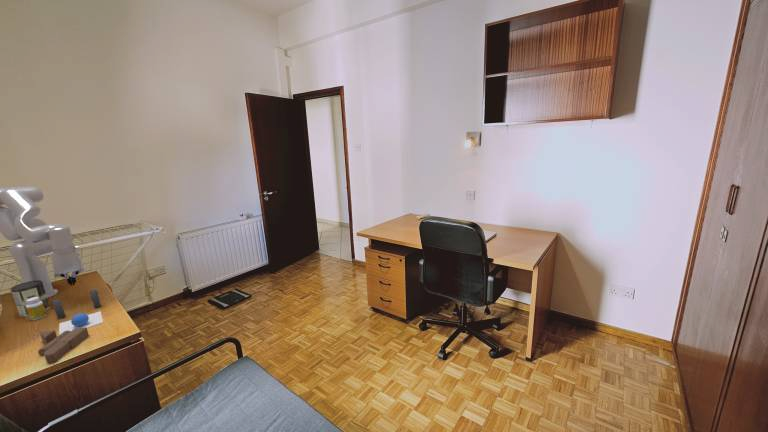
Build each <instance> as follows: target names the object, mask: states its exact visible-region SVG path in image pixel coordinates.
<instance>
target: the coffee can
mask: <svg viewBox="0 0 768 432" xmlns="http://www.w3.org/2000/svg"><path fill="white" fill-rule="evenodd" d="M9 290H10V291H11V294H12V296H13V299H14V303H15V306H16V308H17V311H18V314H19V316H20V317H29V316H28V312H27V309H26V305H27V302H26V300H27V299H29V298H33V297H39V301H42V302H43V305H44V308H45V311H48V310H49V309H51V305H50V302H49V299H48V298H47V296H46V293H45V289H44V286H43V282H42V281H41V280H36V281H29V282H25V283H23V282H22V283H18V284H16V285H13V286H12V287H10V288H9Z"/></svg>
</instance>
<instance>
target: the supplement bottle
mask: <svg viewBox="0 0 768 432" xmlns="http://www.w3.org/2000/svg"><path fill="white" fill-rule="evenodd" d="M26 302H27V305H26V309H27V312H28V316H27V317H28V319H29V320H30V321H37V320H41V319H44V317H47V312H46V311H47V310H46V311H45V308H44V305H43V302H42V301H39V297H33V298H29V299H27V300H26Z"/></svg>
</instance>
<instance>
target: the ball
mask: <svg viewBox="0 0 768 432" xmlns="http://www.w3.org/2000/svg"><path fill="white" fill-rule="evenodd" d="M88 315H89V314H87V313H84V312H82V313H76V314H75V315H73V317H72V318H71V319H70V320H71V323H72V325H74V326H77V327H79V326H83V325H85V324H86V323H87V322H88V320H89V317H88Z"/></svg>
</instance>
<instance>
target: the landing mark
mask: <svg viewBox="0 0 768 432" xmlns="http://www.w3.org/2000/svg"><path fill="white" fill-rule="evenodd" d="M87 315H88V317H89V320H88V322H87V323H86V324H85V325H83V326H79V327H77V326H74V325H72V323H71V320H72V319H70V320H66V321H63V322H60V323H58V324H59V326H58V328H59V329H58V336H59V335H60V334H62V333H63V332H64V331H72V330H73V329H76V328H85V327H86V328H87V329H89V328H91V327H94V326H97V325H102V324H103V323H104V320H103V316H102V312H101V310H100V311H97V312H94V313H89V314H87Z"/></svg>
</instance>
